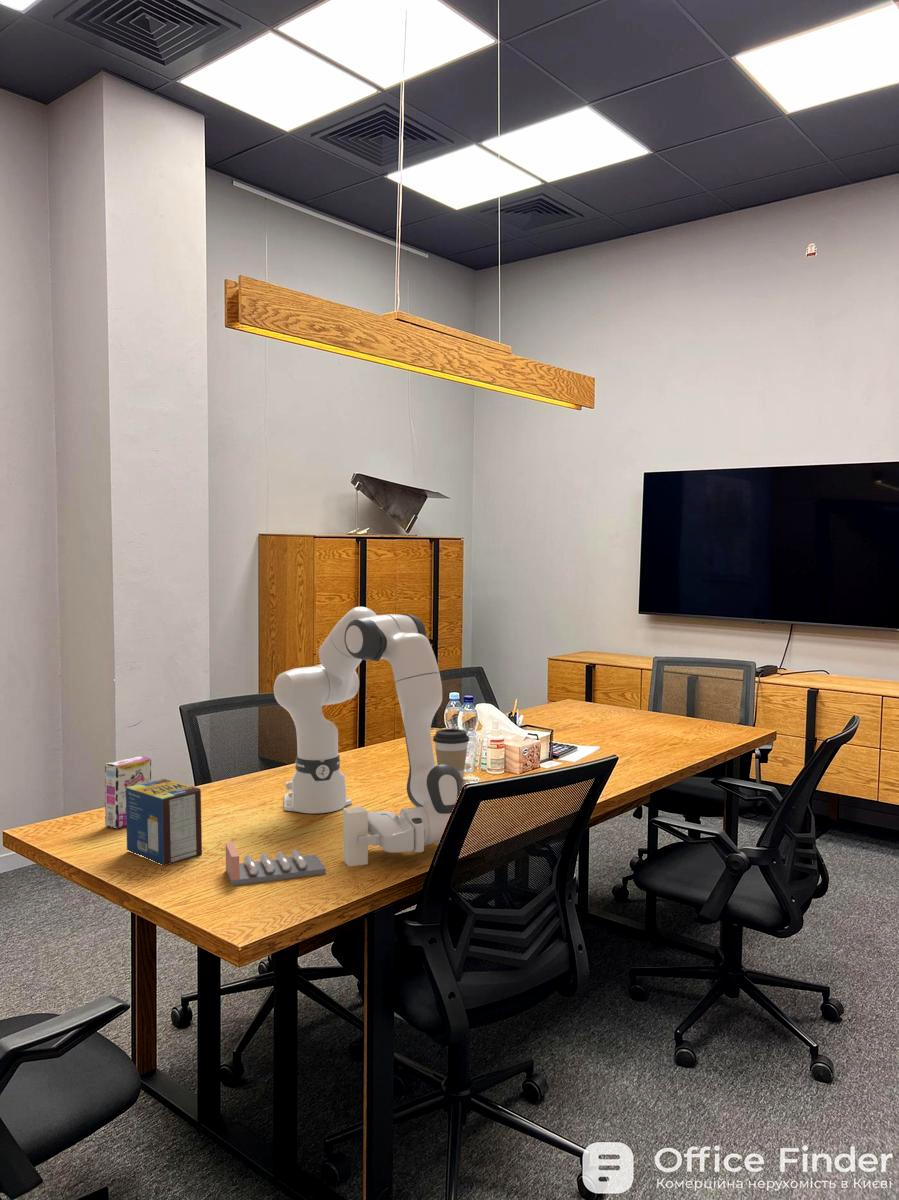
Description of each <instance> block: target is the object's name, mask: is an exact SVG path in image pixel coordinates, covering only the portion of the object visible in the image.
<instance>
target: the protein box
mask: <svg viewBox="0 0 899 1200" xmlns="http://www.w3.org/2000/svg"><path fill="white" fill-rule="evenodd" d="M126 824H127V826H126V851H127V850H129V851H131V852H133V853H136V854H139V855H142V856H144V857H146V858H148V859H151V860H153V861H155V862H157V863H160V864H162V865H165V864H168V865H170V864H169V863H172V864H174V863H173V862H175V863H177V862H176V861H178V862H180V861H185V860H188V859H190V858H194V857H197V856H200V855H202V854H203V843H202V842H203V841H202V839H203V837H202V831H203V829H202V789H201V788H198V787H195V786H191V785H187V784H183V783H180V782H177V781H172V780H169V779H166V778H162V779H157V780H153V781H152V780H151V782H148V783H143V784H139V785H134V786H129V787H126ZM184 859H185V860H184ZM157 863H156V864H157ZM162 865H161V866H162ZM165 866H166V865H165Z"/></svg>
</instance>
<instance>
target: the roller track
mask: <svg viewBox="0 0 899 1200" xmlns="http://www.w3.org/2000/svg"><path fill="white" fill-rule="evenodd" d="M290 854H291V857H286V856H285V853H284V852H283V851H282V850H281V851H277V852H276V854H275V858H274V859H270V856H269V855H268V854H267V853H265V852H263V853H262V854H260V856H259V860H258V861H254V859H253V857H252V856H251V855H249V854H248V855H246V856H245V857H244V858H243V861H244V862H242V863H240V854H239V852H238V850H237V848H236V845H235V844H234V841H228V842H225V871H226V874H227V877H228V880H229V883H230V884H231V887H235V886H237V887H238V886H242V885H243V886H245V885H251V884H258V883H265V882H273V881H274V882H275V881H280V880H283V881H284V880H290V879H297V878H298V877H299V878H305V877H304V876H306V877H311V875H314V876H319V874H322V875H326V874H327V870H326V866H324V864H323V862H321V859H320V858H319V857H318V856H317V854H316V853H315V854H308V855H303V854H301V852H300V851H299V849H293V850H292V851H291V853H290ZM299 878H298V879H299Z"/></svg>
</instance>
